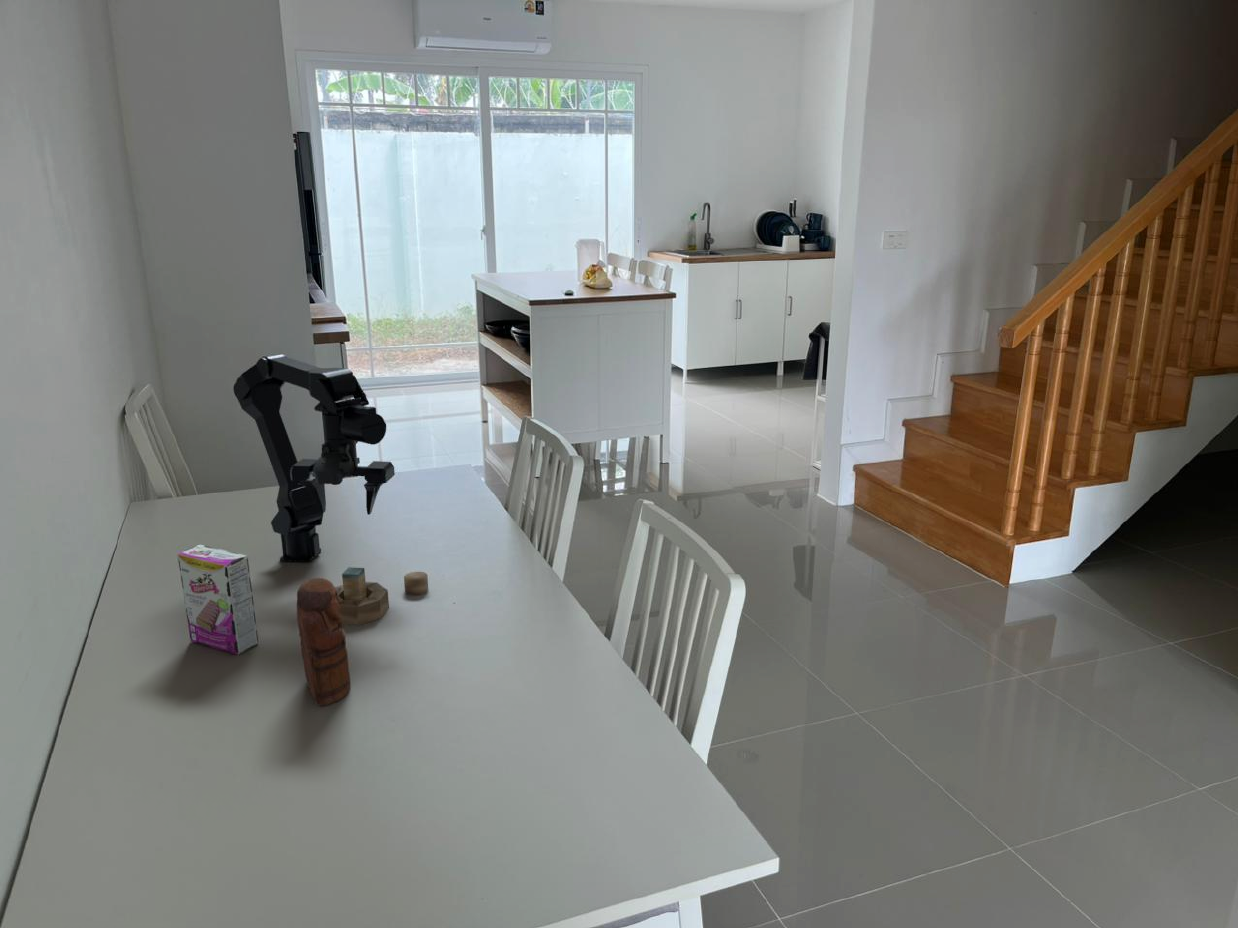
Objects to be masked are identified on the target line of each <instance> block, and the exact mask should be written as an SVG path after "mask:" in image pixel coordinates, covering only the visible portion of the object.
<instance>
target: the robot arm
mask: <svg viewBox="0 0 1238 928" xmlns="http://www.w3.org/2000/svg"><path fill="white" fill-rule="evenodd" d="M286 383H288V384H291V385H294V386H296V387H300V388H303V389H304V390H307V391H308V393H309V396H310V397H312V398H313V399H315V400H316V401H318V403H317V404H316V405H315V406H314V411H315V412H321V419H322V431H323V432H322V433H323V443H322V444H321V454H320V457H318V459H316V458H315V459H314V458H313V459H312V458H311V459H310V458H302V459H300V460H298V459H297V456H296V454H295V451H294V448H293V445H292V442H291V440H290V437H289V434H288V432H287V429H286V425H285V424H284V421H283V418H282V415H281V412H280V410H281V405H282V402H283V393H282V387H283V386H284V385H285V384H286ZM233 394H234V397H236V400H237V401H238V403H239V405H240V408H241V409H242V411H244V412H245V413H246V414H247V415H249V417H251V418H252V419H253V420H254V421H255V423H256V427H257V429H258V432H259V434H260V437H261V440H262V442H263V445H264V449H265V451H266V453H267V456H268V459H269V462H270V465H271V466H272V467H271V468H272V470H273V472H274V475H275V478H276V481H277V484H278V486H279V488H278V493H277V496H276V504H277V509H278V510H277V513H276V514H275V515H274V517H273V518H272V520H271V521H270V524H271V528H272V531H273V533H276V534H279V535H280V540H281V550H282V555H281V556H280V557H279V561H280V562H296V563H297V562H298V563H300V562H301V563H305V562H306V563H309V562H311V561H312V560H314V559H315V557H317V556H318V555H319V554H320V552H322V548H320V547H321V546H320V537H319V533H318V532H317V530H316V526H321V525H322V523H323V518H324V513H325V512H326V508H327V501H326V488H325V487H326V486H325V485H332V486H339V485H340V484H341V483H342V482H343V479H344V478H351V477H364V481H366V482H365V483H364V484H363V486H364V489H365V491H366V492H365V494H366V495H365V496H366V499H365V500H366V501H365V503H366V506H365V507H366V513H367V515H369V516H370V515H371V514H372V512H373V508H374V506H375V505H374V504H375V501H376V499H377V495H378V493H379V491H380V488H381V487H382V486H383V484H387V483H388V482H389V481H390V480H391V479H392V478H393V477H394V476H395V475H396V474H395V473H396V472H395V466H394V464H393V463H392V462H391V461H377V460H373V461H372V462H371V463H369V464H368V465H366V466H361V465H359V464H360V463H361V461H360V457H358V454H357V452H358V451H357V444H358V443H364V444H367V445H371V446H373V445H377V444H379V443H381V441H382V440H383V439H384V438H385V435H386V432H387V423H386V421H385V419H384V417H383V416H382V415H380V414H378V413H377V408H376V406H369V405H370V402H369V400H368V398H367V394H366V393H365V392H364V390H363V389H362V387H361V385H360V383H359V381H358V379H357V378H356V376H355V375H354V373H353V371H352V370H350V369H349V368H346V367H319V366H315V365H312V364H309V363H306V362H303V361H300V360H297V359H294V358H291V357H288V356H287V355H286V354H282V353H276V354H270V355H265V356H262V357H261V358H259V359H258V360H257V362H256V363H255V364H254V365H253V366H251V367H250V368H248V369H246V371H243V372H242V373H241V375H240V376H239V377H237V378H236V381H235V383H234V384H233Z"/></svg>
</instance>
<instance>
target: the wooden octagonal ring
mask: <svg viewBox="0 0 1238 928" xmlns="http://www.w3.org/2000/svg"><path fill="white" fill-rule="evenodd" d="M334 587H335V589H336V590H337V595H338V599H339V606H340V608H341V612H340V616H341V620H342V625H347V626H348V625H350V626H351V625H352V626H354V625H355V626H360V625H363V624H366V623H369V622H372V621H376V620H378V619H381V618H383V616H384V615H385V613H387V611H388V610H389V608H390V602H389V591H388V589H387V588H385V586H383V585H382V584H380V583H379V582H377V581H375V582H373V581H366V593H367V598H364V599H361V600H357V601H350V600H344V590H343V584H340V585H337V586H334Z"/></svg>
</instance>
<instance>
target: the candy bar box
mask: <svg viewBox="0 0 1238 928" xmlns="http://www.w3.org/2000/svg"><path fill="white" fill-rule="evenodd" d="M177 561H178V568H179V572H180V573H179V574H180V579H181V586H182V594H183V599H184V606H185V612H186V619H187V625H188V632H189V640H190V642H191V643H194V644H199V645H202V646H205V647H210V648H213V649H217V650H220V651H223V652H227V653H230V654H233V655H234V654H235V655H237V656H238V655H240V654H243V653H244V652H246V651H248V650H250V649H251V648H252V647H255V646H256V645H258V644H259V637H258V629H257V628H258V627H257V622H256V620H257V619H256V612H255V605H254V604H255V603H254V598H253V597H254V596H253V589H252V581H251V573H250V566H249V556H248V555H247V554H243V553H237V552H233V551H229V550H224V549H220V548H215V547H212V546H208V545H204V544H198V545H195V546H193V547H190V548H188V549H186V550H183V551H181V552H179V553H177Z"/></svg>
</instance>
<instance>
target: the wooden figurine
mask: <svg viewBox="0 0 1238 928" xmlns="http://www.w3.org/2000/svg"><path fill="white" fill-rule="evenodd" d="M335 587H336V586H335V585H334V584H333V582H332V581H331V580H329V579H327V578H323V577H317V578H310V579H308V580H305V581H304V582H302V584H300V586H299V588H298V589H297V591H296V592H297V593H296V598H297V602H296V619H297V625H298V631H299V633H298V634H299V638H300V649H301V657H302V662H303V667H304V673H305V674H304V675H305V680H306V683H307V685H308V688H309V689H310V692H311V696H312V698H313V700H314V701H315V703H316V704H317V705H320V706H328V705H331V704H333V703H334V702H336V701H340V700H341V699H342V698H343V697H345V696H347V694H348V693H349V692H350V691H351V677H350V676H351V673H350V667H349V657H348V651H347V646H346V645H347V640H346V639H347V638H346V632H345V630H344V628H343V624H342V620H341V616H340V612H341V608H340V606H339V599H338V595H337V590H336V589H335Z"/></svg>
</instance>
